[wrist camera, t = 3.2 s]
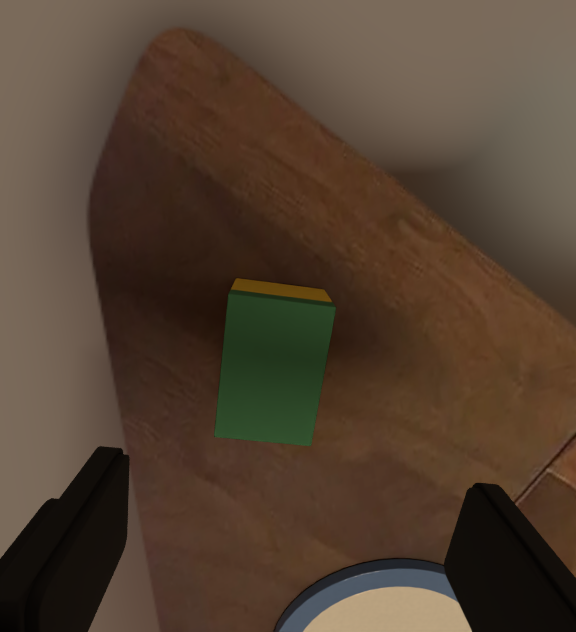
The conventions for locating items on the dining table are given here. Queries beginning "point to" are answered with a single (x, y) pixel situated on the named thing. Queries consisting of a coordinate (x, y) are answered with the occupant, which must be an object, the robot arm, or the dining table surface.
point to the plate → (378, 601)
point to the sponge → (273, 362)
